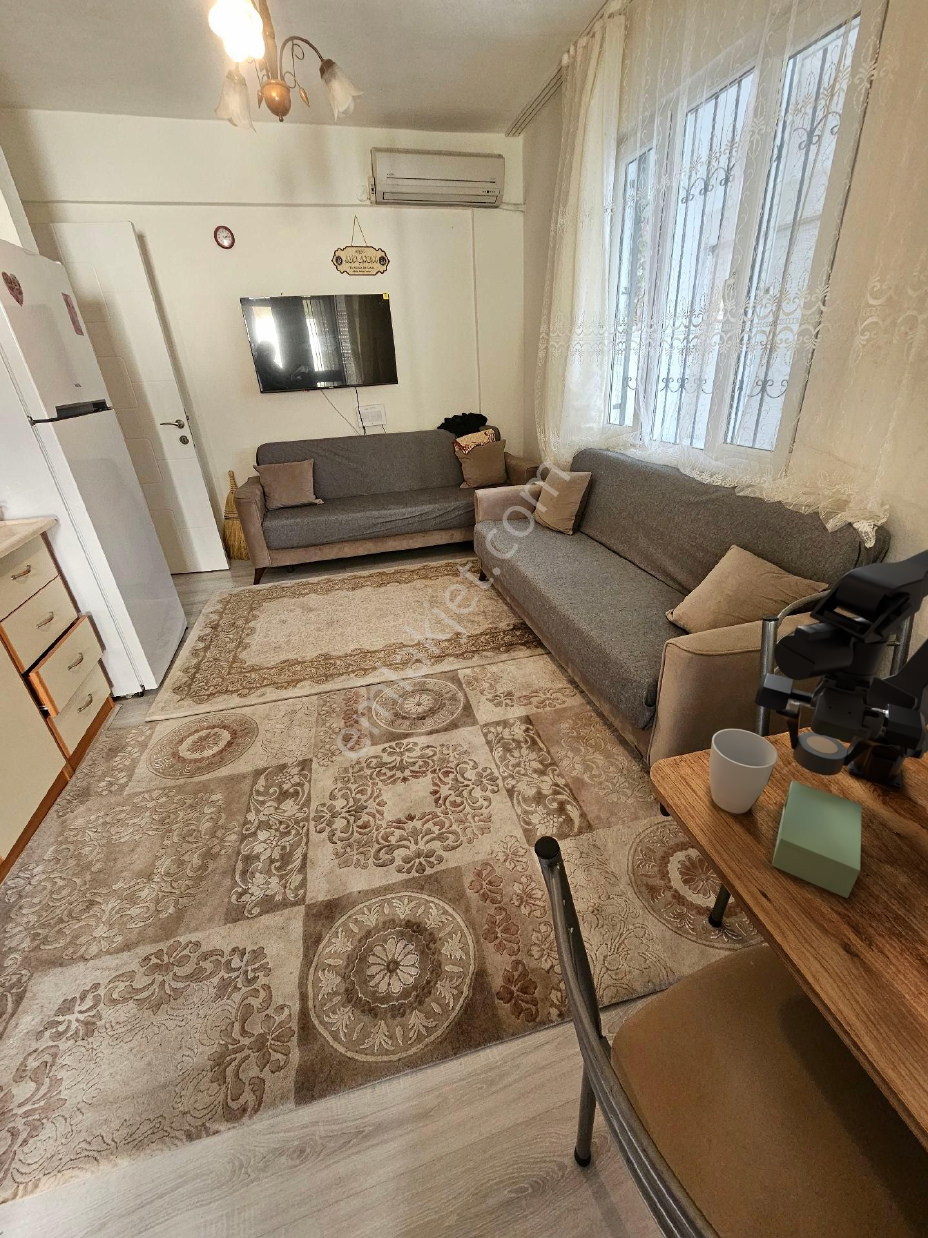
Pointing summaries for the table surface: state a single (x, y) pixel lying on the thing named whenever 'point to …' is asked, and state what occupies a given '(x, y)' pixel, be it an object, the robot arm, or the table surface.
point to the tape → (819, 753)
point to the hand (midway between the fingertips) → (818, 755)
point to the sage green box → (820, 838)
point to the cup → (739, 768)
